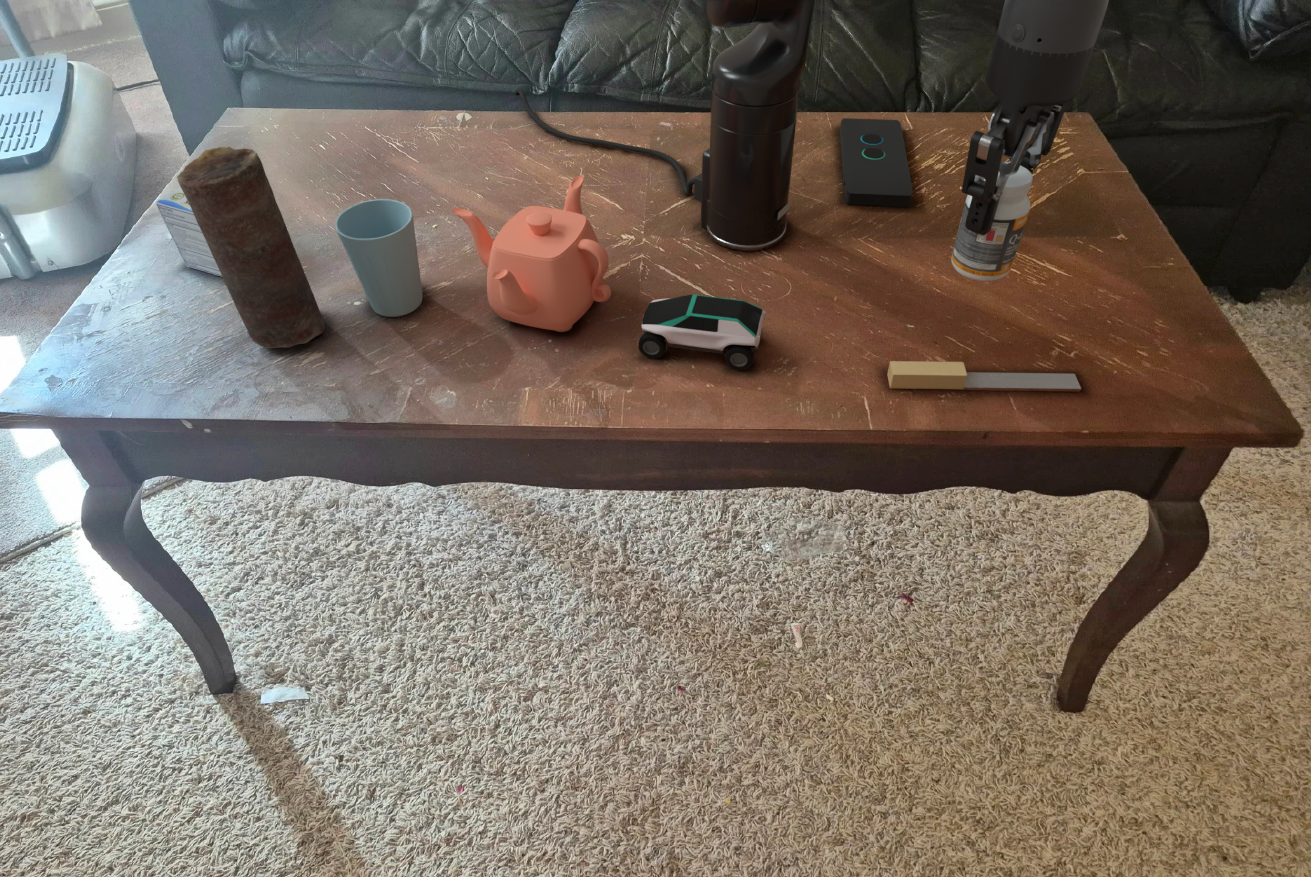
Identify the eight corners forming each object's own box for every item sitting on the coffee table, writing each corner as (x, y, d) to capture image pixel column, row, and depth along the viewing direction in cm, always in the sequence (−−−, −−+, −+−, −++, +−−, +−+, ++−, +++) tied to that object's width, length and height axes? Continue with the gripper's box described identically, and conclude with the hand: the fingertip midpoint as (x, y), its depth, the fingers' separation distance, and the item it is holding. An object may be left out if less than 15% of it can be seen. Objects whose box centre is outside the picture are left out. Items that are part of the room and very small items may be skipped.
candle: (284, 367, 89) (208, 188, 74) (236, 343, 91) (153, 166, 77) (340, 326, 93) (278, 150, 79) (292, 304, 96) (224, 131, 82)
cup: (403, 331, 92) (378, 246, 85) (346, 312, 95) (318, 228, 87) (446, 292, 97) (427, 208, 90) (391, 275, 100) (368, 192, 92)
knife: (890, 389, 85) (893, 375, 83) (886, 374, 86) (890, 360, 85) (1080, 391, 84) (1086, 377, 83) (1073, 376, 85) (1079, 362, 84)
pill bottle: (1012, 286, 84) (1042, 192, 76) (950, 280, 84) (974, 186, 77) (1008, 253, 87) (1037, 161, 80) (948, 247, 88) (972, 155, 81)
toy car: (755, 373, 87) (759, 330, 83) (637, 357, 89) (636, 315, 85) (764, 336, 91) (768, 294, 87) (651, 321, 93) (650, 279, 89)
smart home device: (901, 118, 120) (915, 194, 106) (899, 130, 121) (912, 207, 107) (839, 116, 121) (845, 191, 107) (838, 128, 122) (844, 204, 108)
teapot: (509, 364, 88) (492, 273, 80) (468, 289, 97) (449, 201, 90) (640, 324, 92) (636, 233, 85) (588, 255, 102) (580, 168, 94)
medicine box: (264, 263, 102) (237, 196, 95) (237, 284, 99) (207, 216, 93) (213, 247, 104) (184, 181, 98) (185, 268, 101) (152, 201, 95)
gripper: (1051, 72, 65) (993, 265, 77) (1130, 16, 72) (1066, 200, 84) (959, 46, 68) (917, 234, 80) (1043, -5, 76) (993, 174, 88)
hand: (993, 216), depth 82 cm, fingers closed on pill bottle, 5 cm apart
